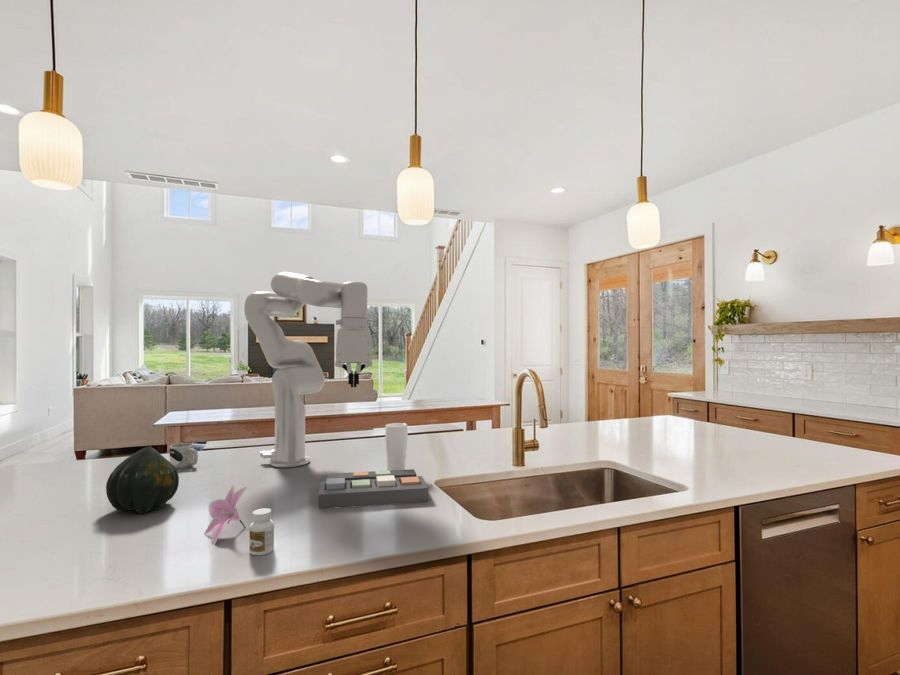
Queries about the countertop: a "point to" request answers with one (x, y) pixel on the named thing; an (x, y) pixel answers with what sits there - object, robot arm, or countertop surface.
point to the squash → (142, 482)
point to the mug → (183, 455)
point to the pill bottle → (261, 532)
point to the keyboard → (372, 490)
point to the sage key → (360, 483)
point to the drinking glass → (396, 445)
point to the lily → (224, 512)
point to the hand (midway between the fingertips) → (353, 386)
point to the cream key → (385, 481)
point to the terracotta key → (409, 480)
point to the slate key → (335, 483)
